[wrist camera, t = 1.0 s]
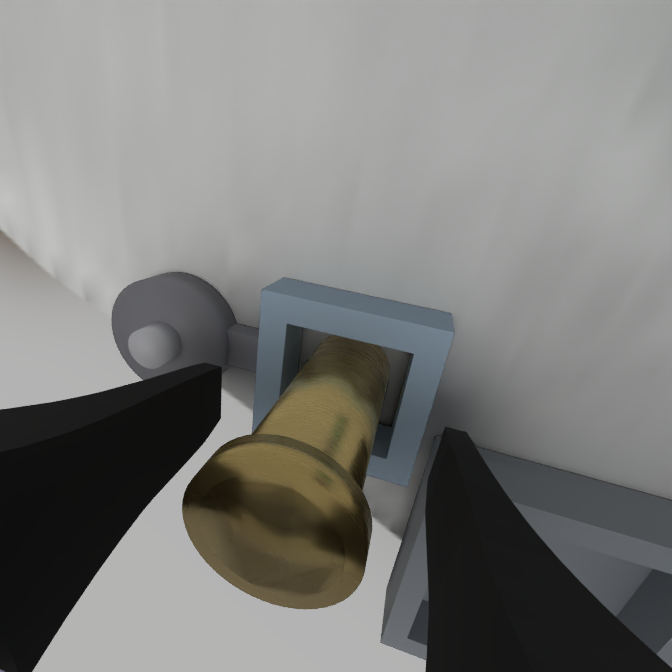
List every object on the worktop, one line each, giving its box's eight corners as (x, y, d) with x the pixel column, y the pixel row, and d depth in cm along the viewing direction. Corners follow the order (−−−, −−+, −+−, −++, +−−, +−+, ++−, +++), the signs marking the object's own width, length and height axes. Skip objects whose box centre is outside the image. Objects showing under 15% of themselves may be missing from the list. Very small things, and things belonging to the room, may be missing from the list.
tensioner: (451, 313, 13) (455, 338, 10) (410, 452, 15) (406, 497, 13) (133, 245, 15) (79, 253, 13) (143, 376, 17) (100, 402, 15)
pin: (410, 336, 13) (385, 499, 6) (388, 422, 15) (347, 633, 8) (309, 313, 14) (179, 434, 7) (299, 397, 16) (184, 570, 8)
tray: (713, 511, 13) (773, 578, 11) (593, 662, 17) (619, 734, 14) (436, 435, 15) (437, 479, 12) (386, 588, 18) (380, 642, 16)
